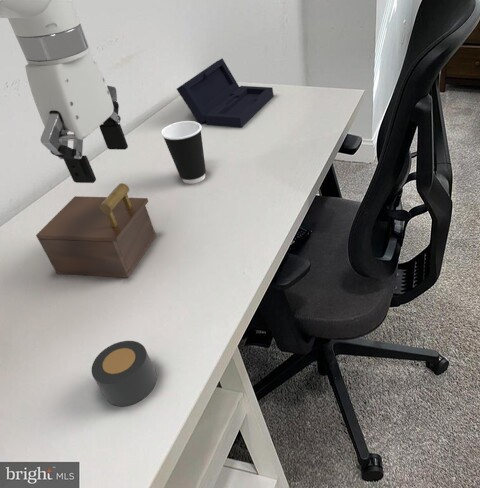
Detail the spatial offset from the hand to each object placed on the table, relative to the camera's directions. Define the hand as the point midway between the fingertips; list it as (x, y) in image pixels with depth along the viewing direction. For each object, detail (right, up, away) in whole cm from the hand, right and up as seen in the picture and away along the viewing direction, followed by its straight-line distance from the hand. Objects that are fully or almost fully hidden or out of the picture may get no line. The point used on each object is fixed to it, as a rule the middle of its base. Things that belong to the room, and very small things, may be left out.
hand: (102, 164), depth 71 cm
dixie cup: (+5, +2, +30) cm, 31 cm away
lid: (-4, -8, +7) cm, 11 cm away
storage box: (+8, +25, +59) cm, 64 cm away
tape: (+8, -29, -10) cm, 32 cm away
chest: (-4, -14, +11) cm, 18 cm away
